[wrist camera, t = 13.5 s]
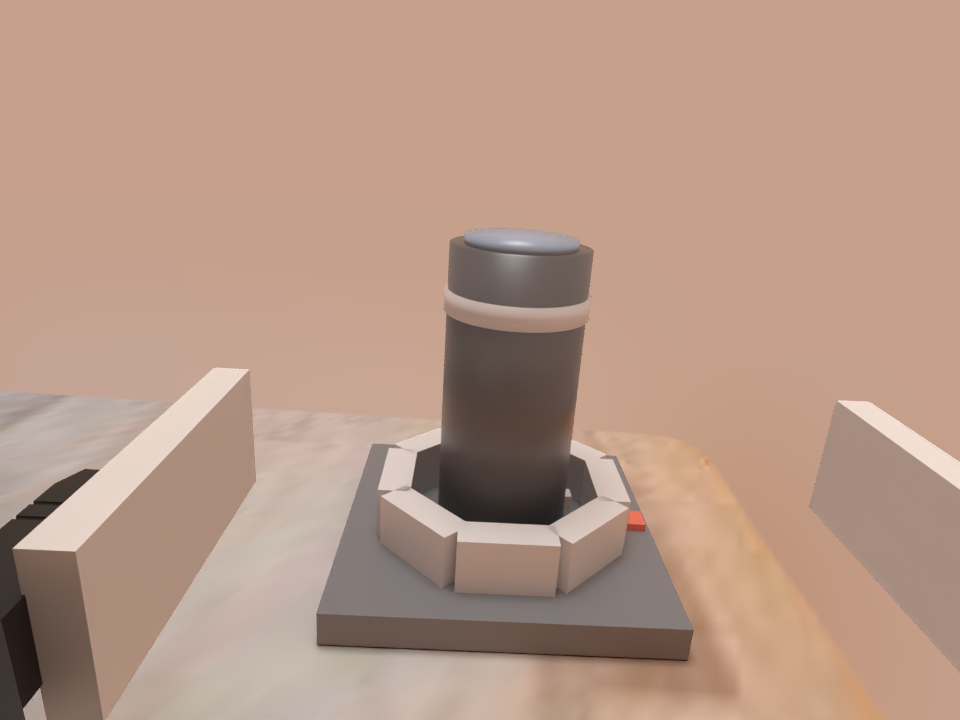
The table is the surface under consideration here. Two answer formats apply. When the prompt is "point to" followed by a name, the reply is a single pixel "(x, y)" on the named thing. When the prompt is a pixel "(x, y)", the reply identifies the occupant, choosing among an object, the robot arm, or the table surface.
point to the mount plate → (499, 568)
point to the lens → (511, 373)
